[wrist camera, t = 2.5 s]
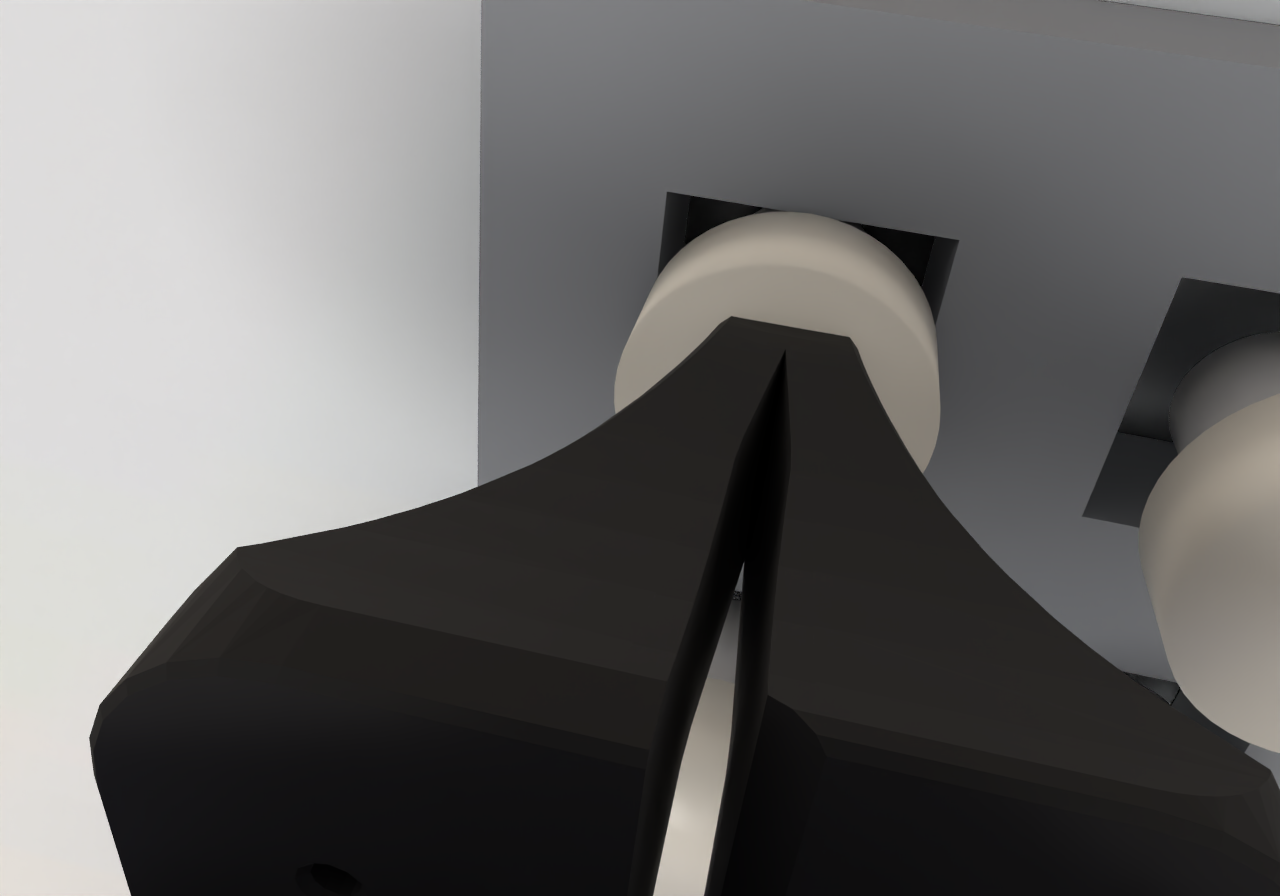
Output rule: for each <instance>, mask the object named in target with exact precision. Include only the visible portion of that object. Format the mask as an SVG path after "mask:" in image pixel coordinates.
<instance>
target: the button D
mask: <svg viewBox="0 0 1280 896" xmlns="http://www.w3.org/2000/svg"><path fill="white" fill-rule="evenodd" d="M1169 429H1170V433H1171V436H1172V439H1173V442H1174V445H1175V447H1176V450H1177V453H1178V456H1177V457H1176V458H1175V459H1174V460H1173V461H1172V462H1171V463H1170V464H1169V466H1168V467H1167V468H1166V470H1165V471H1164V472H1163V474H1162V475H1161V476H1160V478H1159V479H1158V480H1157V482H1156V484H1155V486H1154V488H1153V490H1152V491H1151V493H1150V495H1149V497H1148V499H1147V502H1146V505H1145V508H1144V510H1143V513H1142V517H1141V522H1140V528H1139V547H1138V550H1139V555H1140V561H1141V567H1142V570H1143V574H1144V577H1145V581H1146V584H1147V588H1148V591H1149V595H1150V599H1151V602H1152V606H1153V609H1154V613H1155V616H1156V620H1157V623H1158V627H1159V630H1160V634H1161V638H1162V641H1163V645H1164V648H1165V652H1166V655H1167V659H1168V662H1169V665H1170V667H1171V670H1172V673H1173V676H1174V678H1175V680H1176V682H1177V683H1178V685H1179V687H1180V688H1181V690H1182V692H1183V693H1184V695H1185V696H1186V697H1187V698H1188V699H1189V700H1190V702H1191V703H1192V704H1193V705H1194V706H1195V707H1196V709H1198V710H1199V711H1200V712H1201V713H1202V714H1203V715H1204V716H1206V717H1207V718H1208V719H1209V720H1210V721H1211V722H1213V723H1215V724H1216V725H1218V726H1219V727H1221V728H1222V729H1224V730H1225V731H1227V732H1228V733H1230V734H1232V735H1234V736H1236V737H1238V738H1240V739H1242V740H1244V741H1246V742H1248V743H1251V744H1254V745H1256V746H1259V747H1262V748H1264V749H1267V750H1270V751H1274V752H1277V753H1280V332H1271V333H1262V334H1257V335H1252V336H1248V337H1245V338H1242V339H1238V340H1236V341H1233V342H1231V343H1229V344H1226V345H1224V346H1222V347H1220V348H1219V349H1217V350H1215V351H1213V352H1212V353H1210V354H1209V355H1207V356H1206V357H1204V358H1203V359H1202V360H1201V361H1199V362H1198V363H1197V364H1196V365H1195V366H1194V367H1193V368H1192V369H1191V370H1190V371H1189V372H1188V373H1187V374H1186V375H1185V377H1184V378H1183V380H1182V381H1181V382H1180V384H1179V385H1178V387H1177V389H1176V391H1175V393H1174V395H1173V398H1172V401H1171V404H1170V409H1169Z"/></svg>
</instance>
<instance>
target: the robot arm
mask: <svg viewBox="0 0 1280 896" xmlns="http://www.w3.org/2000/svg"><path fill="white" fill-rule="evenodd" d="M743 563H744V570H743V582H742V595H741V608H740V620H739V634H738V647H737V660H736V673H735V686H734V699H733V713H732V726H731V737H730V745H729V753H728V761H727V769H726V776H725V782H724V787H723V793H722V798H721V804H720V810H719V815H718V821H717V826H716V832H715V837H714V843H713V848H712V854H711V860H710V865H709V871H708V876H707V882H706V887H705V893H704V896H1280V789H1279V787H1278V784H1277V782H1276V780H1275V778H1274V775H1273V773H1272V771H1271V770H1270V769H1269V768H1267V767H1266V766H1264V765H1262V764H1261V763H1259V762H1258V761H1256V760H1255V759H1253V758H1251V757H1250V756H1248V755H1247V754H1245V753H1244V752H1242V751H1240V750H1239V749H1237V748H1236V747H1234V746H1233V745H1231V744H1230V743H1228V742H1226V741H1225V740H1223V739H1222V738H1220V737H1219V736H1217V735H1215V734H1214V733H1212V732H1211V731H1209V730H1208V729H1206V728H1204V727H1203V726H1201V725H1200V724H1198V723H1197V722H1195V721H1193V720H1192V719H1190V718H1189V717H1187V716H1186V715H1184V714H1182V713H1181V712H1179V711H1178V710H1176V709H1175V708H1173V707H1172V706H1170V705H1168V704H1167V703H1165V702H1164V701H1162V700H1161V699H1159V698H1158V697H1156V696H1155V695H1153V694H1152V693H1150V692H1149V691H1148V690H1146V689H1145V688H1143V687H1142V686H1141V685H1139V684H1138V683H1137V682H1135V681H1134V680H1133V679H1131V678H1130V677H1129V676H1127V675H1126V674H1125V673H1123V672H1122V671H1121V670H1119V669H1118V668H1117V667H1115V666H1114V665H1113V664H1111V663H1110V662H1109V661H1107V660H1106V659H1105V658H1103V657H1102V656H1101V655H1099V654H1098V653H1097V652H1095V651H1094V650H1093V649H1091V648H1090V647H1089V646H1088V645H1086V644H1085V643H1084V642H1083V641H1082V640H1080V639H1079V638H1078V637H1077V636H1076V635H1074V634H1073V633H1072V632H1071V631H1069V630H1068V629H1067V628H1066V627H1065V626H1063V625H1062V624H1061V623H1060V622H1059V621H1057V620H1056V619H1055V618H1054V617H1053V616H1052V615H1051V614H1049V613H1048V612H1047V611H1046V610H1045V609H1044V608H1043V607H1042V606H1041V605H1040V604H1039V603H1038V602H1036V601H1035V600H1034V599H1033V598H1032V597H1031V596H1030V595H1029V594H1028V593H1027V592H1026V591H1025V590H1023V589H1022V588H1021V587H1020V586H1019V585H1018V584H1017V583H1016V582H1015V581H1014V580H1013V579H1011V578H1010V577H1009V576H1008V575H1007V574H1006V573H1005V572H1004V571H1003V570H1002V569H1001V568H1000V567H999V565H998V564H997V563H996V562H995V561H994V560H993V559H992V558H991V557H990V556H989V555H988V554H987V553H986V552H985V551H984V550H983V549H982V548H981V546H980V545H979V544H978V543H977V542H976V541H975V540H974V538H973V537H972V536H971V535H970V534H969V533H968V532H967V530H966V529H965V528H964V527H963V526H962V525H961V524H960V522H959V521H958V520H957V519H956V518H955V517H954V516H953V514H952V513H951V512H950V511H949V509H948V508H947V507H946V506H945V504H944V503H943V502H942V501H941V499H940V498H939V497H938V495H937V494H936V492H935V491H934V489H933V488H932V486H931V485H930V484H929V482H928V481H927V479H926V478H925V476H924V475H923V473H922V472H921V471H920V469H919V467H918V466H917V464H916V463H915V461H914V459H913V458H912V456H911V455H910V453H909V452H908V450H907V448H906V446H905V445H904V443H903V441H902V439H901V438H900V436H899V434H898V432H897V431H896V429H895V427H894V425H893V424H892V422H891V420H890V418H889V417H888V415H887V413H886V411H885V409H884V407H883V405H882V403H881V401H880V399H879V397H878V395H877V393H876V391H875V389H874V387H873V385H872V383H871V380H870V378H869V376H868V374H867V371H866V369H865V367H864V364H863V362H862V359H861V356H860V354H859V351H858V349H857V347H856V346H855V344H854V343H853V341H852V340H851V338H850V337H847V336H841V335H835V334H830V333H824V332H818V331H812V330H806V329H801V328H795V327H789V326H784V325H778V324H773V323H767V322H762V321H756V320H750V319H745V318H739V317H734V316H731V317H729V318H728V319H726V320H724V321H723V322H721V323H720V324H719V325H718V326H717V327H716V328H715V329H714V330H713V331H712V332H711V333H710V335H709V336H708V337H707V338H706V339H705V340H704V341H703V342H702V343H701V344H700V345H699V346H698V347H697V348H696V349H695V350H694V351H692V352H691V353H690V354H689V355H688V356H687V357H686V358H685V359H684V360H683V361H682V362H681V363H680V364H678V365H677V366H676V367H675V368H674V369H673V370H671V371H670V372H669V373H668V374H667V375H665V376H664V377H663V378H662V379H661V380H660V381H658V382H657V383H656V384H655V385H654V386H652V387H651V388H650V389H649V390H648V391H646V392H645V393H644V394H643V395H641V396H640V397H639V398H637V399H636V400H635V401H633V402H632V403H630V404H629V405H628V406H626V407H625V408H623V409H622V410H621V411H619V412H618V413H616V414H615V415H614V416H612V417H611V418H609V419H608V420H607V421H605V422H604V423H602V424H601V425H600V426H598V427H597V428H595V429H593V430H592V431H590V432H589V433H587V434H586V435H584V436H582V437H581V438H579V439H578V440H576V441H574V442H573V443H571V444H569V445H567V446H566V447H564V448H562V449H560V450H558V451H556V452H555V453H553V454H551V455H549V456H547V457H545V458H543V459H541V460H539V461H537V462H535V463H533V464H531V465H529V466H526V467H524V468H521V469H519V470H517V471H514V472H512V473H509V474H507V475H505V476H502V477H500V478H497V479H495V480H493V481H490V482H488V483H485V484H483V485H481V486H478V487H476V488H473V489H471V490H469V491H466V492H464V493H461V494H458V495H455V496H452V497H449V498H446V499H443V500H440V501H437V502H434V503H431V504H428V505H425V506H422V507H419V508H416V509H412V510H409V511H405V512H401V513H398V514H394V515H391V516H387V517H384V518H380V519H377V520H373V521H369V522H365V523H361V524H357V525H352V526H348V527H344V528H339V529H334V530H329V531H323V532H318V533H313V534H308V535H303V536H298V537H293V538H288V539H283V540H278V541H273V542H267V543H262V544H256V545H249V546H243V547H237V548H236V549H235V550H234V551H233V552H232V553H231V554H230V555H229V556H228V557H227V558H226V559H225V560H224V561H223V562H222V563H221V564H220V565H219V566H218V568H216V570H215V571H214V572H213V573H212V574H211V575H210V576H209V577H208V578H207V579H206V580H205V581H204V582H203V583H202V584H201V585H200V586H199V587H198V588H197V589H196V590H195V591H194V592H193V593H192V594H191V595H190V596H189V598H188V599H187V600H186V601H185V602H184V603H183V605H182V606H181V607H180V608H179V609H178V610H177V612H176V613H175V614H174V615H173V616H172V618H171V619H170V620H169V621H168V622H167V624H166V625H165V626H164V627H163V628H162V630H161V631H160V632H159V633H158V635H157V636H156V637H155V638H154V639H153V641H152V642H151V643H150V644H149V645H148V647H147V648H146V649H145V650H144V652H143V653H142V654H141V655H140V656H139V658H138V659H137V660H136V661H135V663H134V664H133V665H132V666H131V667H130V669H129V670H128V671H127V672H126V673H125V675H124V676H123V677H122V678H121V680H120V681H119V682H118V683H117V684H116V686H115V687H114V688H113V689H112V691H111V692H110V693H109V694H108V695H107V697H106V698H105V699H104V700H103V701H102V703H101V704H100V705H99V709H98V712H97V715H96V718H95V721H94V725H93V728H92V731H91V734H90V737H89V739H90V747H91V755H92V763H93V771H94V776H95V780H96V783H97V786H98V790H99V793H100V796H101V799H102V803H103V806H104V809H105V812H106V816H107V819H108V822H109V825H110V829H111V832H112V835H113V838H114V842H115V845H116V848H117V851H118V854H119V858H120V861H121V864H122V867H123V871H124V874H125V877H126V880H127V884H128V887H129V890H130V893H131V896H653V894H654V889H655V884H656V880H657V875H658V870H659V866H660V861H661V856H662V851H663V847H664V842H665V837H666V832H667V828H668V823H669V818H670V814H671V809H672V804H673V800H674V795H675V790H676V785H677V781H678V776H679V771H680V767H681V762H682V758H683V755H684V751H685V747H686V744H687V740H688V736H689V733H690V729H691V725H692V722H693V719H694V716H695V713H696V710H697V707H698V704H699V700H700V697H701V694H702V691H703V688H704V685H705V682H706V679H707V676H708V673H709V669H710V666H711V663H712V660H713V657H714V654H715V651H716V648H717V645H718V642H719V638H720V635H721V632H722V629H723V626H724V623H725V620H726V617H727V614H728V610H729V607H730V604H731V601H732V598H733V595H734V592H735V589H736V585H737V582H738V579H739V576H740V573H741V570H742V567H743Z"/></svg>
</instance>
